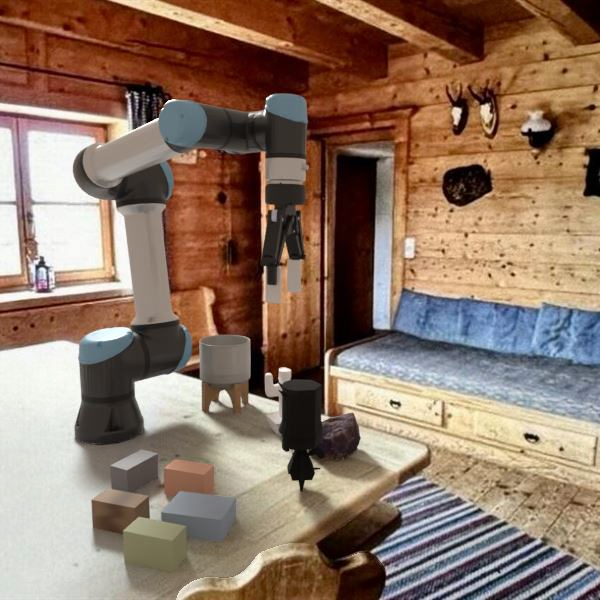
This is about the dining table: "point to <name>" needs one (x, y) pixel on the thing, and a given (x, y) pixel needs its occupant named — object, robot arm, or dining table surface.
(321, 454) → the toy
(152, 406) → the dining table surface
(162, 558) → the olive block
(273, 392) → the figurine
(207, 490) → the terracotta block
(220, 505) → the slate slab
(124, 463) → the charcoal block
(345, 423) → the rock
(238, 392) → the planter
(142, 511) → the walnut block
